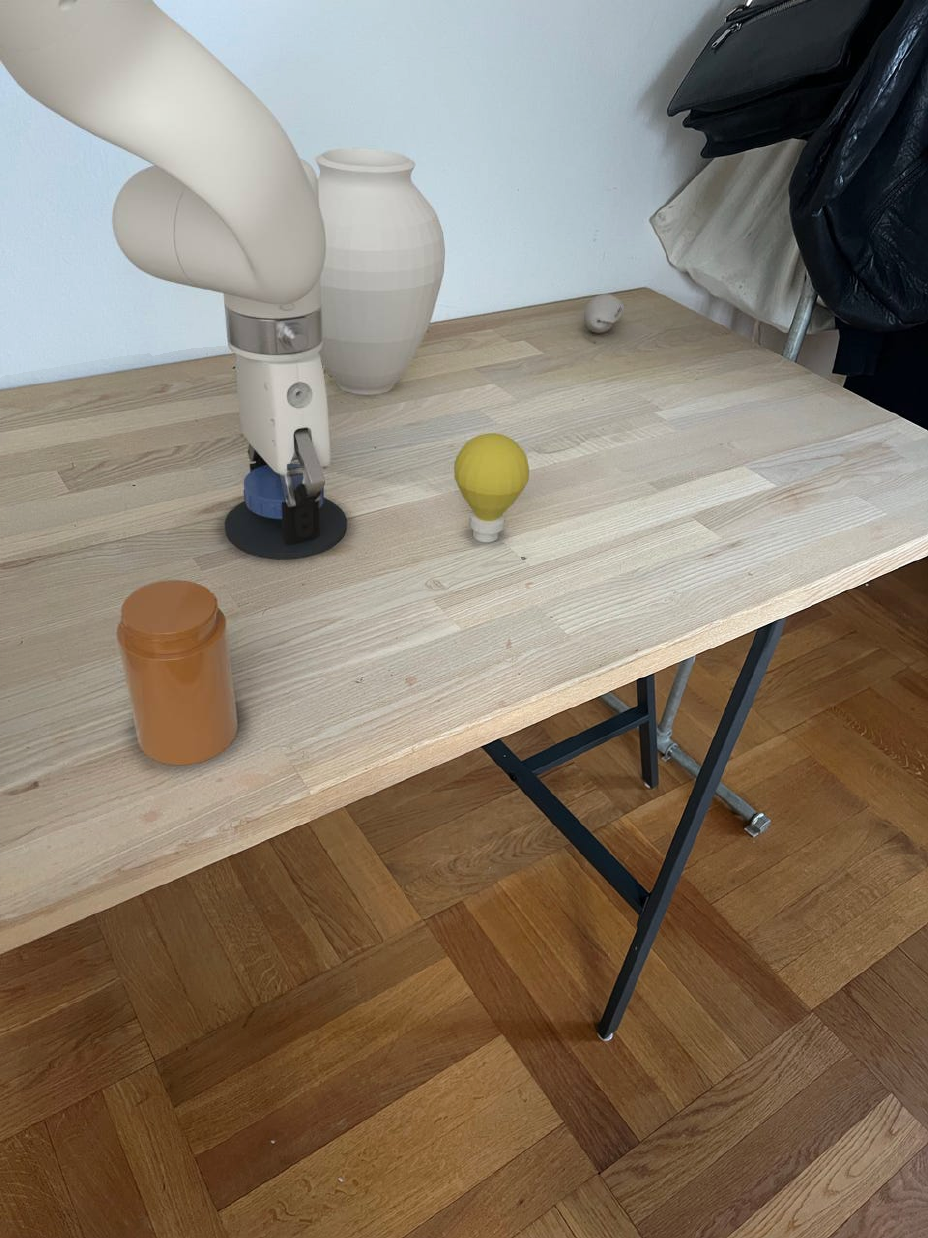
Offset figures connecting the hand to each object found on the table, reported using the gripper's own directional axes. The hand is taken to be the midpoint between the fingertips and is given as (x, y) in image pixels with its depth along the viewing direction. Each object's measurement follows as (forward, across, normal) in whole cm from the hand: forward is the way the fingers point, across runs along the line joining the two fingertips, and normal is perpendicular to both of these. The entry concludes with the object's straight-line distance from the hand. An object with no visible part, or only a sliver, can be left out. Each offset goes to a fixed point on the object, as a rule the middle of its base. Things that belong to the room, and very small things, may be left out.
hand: (285, 517), depth 84 cm
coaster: (+1, 0, 0) cm, 1 cm away
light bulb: (+1, -9, -16) cm, 18 cm away
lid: (-3, 0, 0) cm, 3 cm away
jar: (+1, -22, +16) cm, 27 cm away
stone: (+1, +31, -60) cm, 68 cm away
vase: (+1, +27, -21) cm, 34 cm away
